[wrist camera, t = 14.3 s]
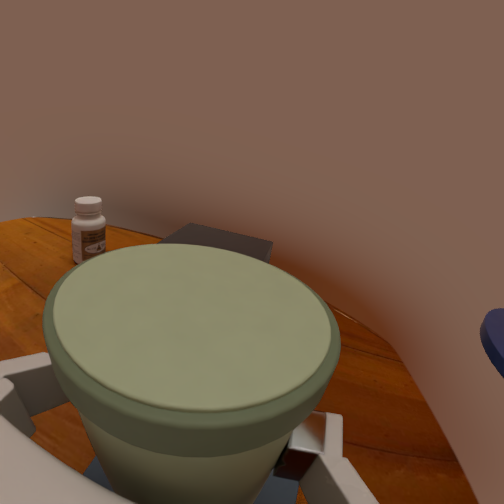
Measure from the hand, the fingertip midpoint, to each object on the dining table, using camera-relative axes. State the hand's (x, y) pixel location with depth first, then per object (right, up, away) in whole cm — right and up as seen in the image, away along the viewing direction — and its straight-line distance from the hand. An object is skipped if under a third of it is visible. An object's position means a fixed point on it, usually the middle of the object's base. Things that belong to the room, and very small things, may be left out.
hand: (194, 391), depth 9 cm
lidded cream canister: (-1, -5, +1) cm, 5 cm away
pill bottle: (-19, +3, +26) cm, 32 cm away
